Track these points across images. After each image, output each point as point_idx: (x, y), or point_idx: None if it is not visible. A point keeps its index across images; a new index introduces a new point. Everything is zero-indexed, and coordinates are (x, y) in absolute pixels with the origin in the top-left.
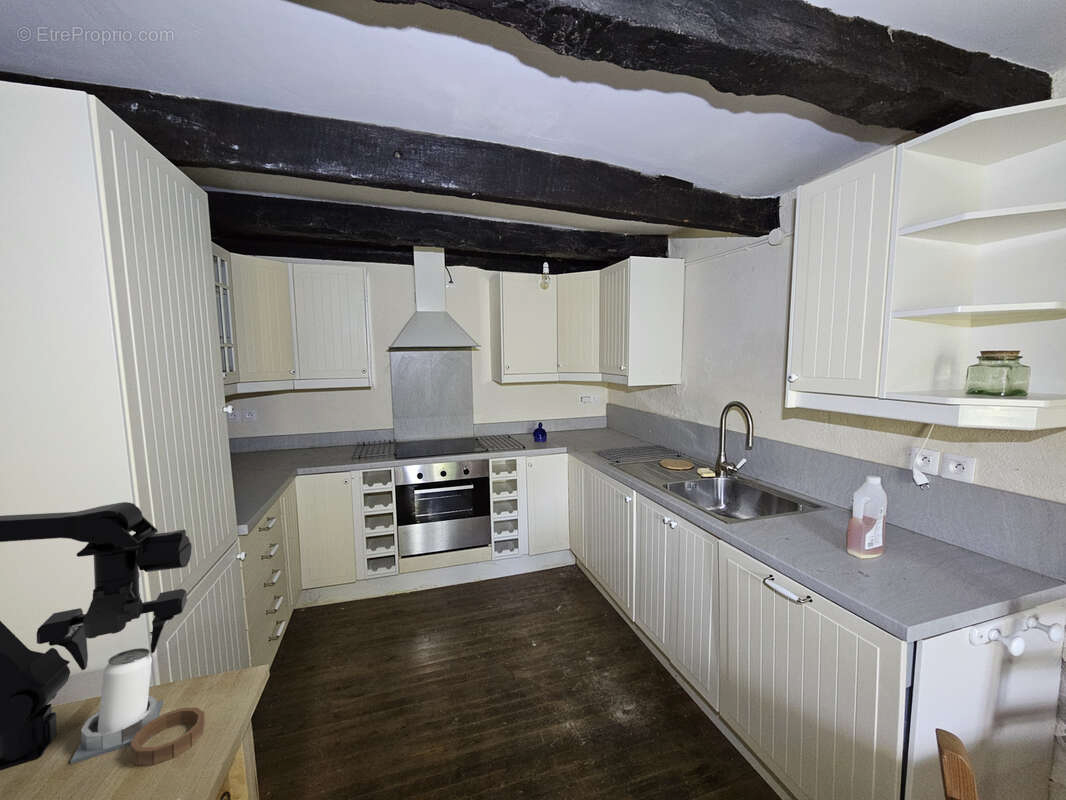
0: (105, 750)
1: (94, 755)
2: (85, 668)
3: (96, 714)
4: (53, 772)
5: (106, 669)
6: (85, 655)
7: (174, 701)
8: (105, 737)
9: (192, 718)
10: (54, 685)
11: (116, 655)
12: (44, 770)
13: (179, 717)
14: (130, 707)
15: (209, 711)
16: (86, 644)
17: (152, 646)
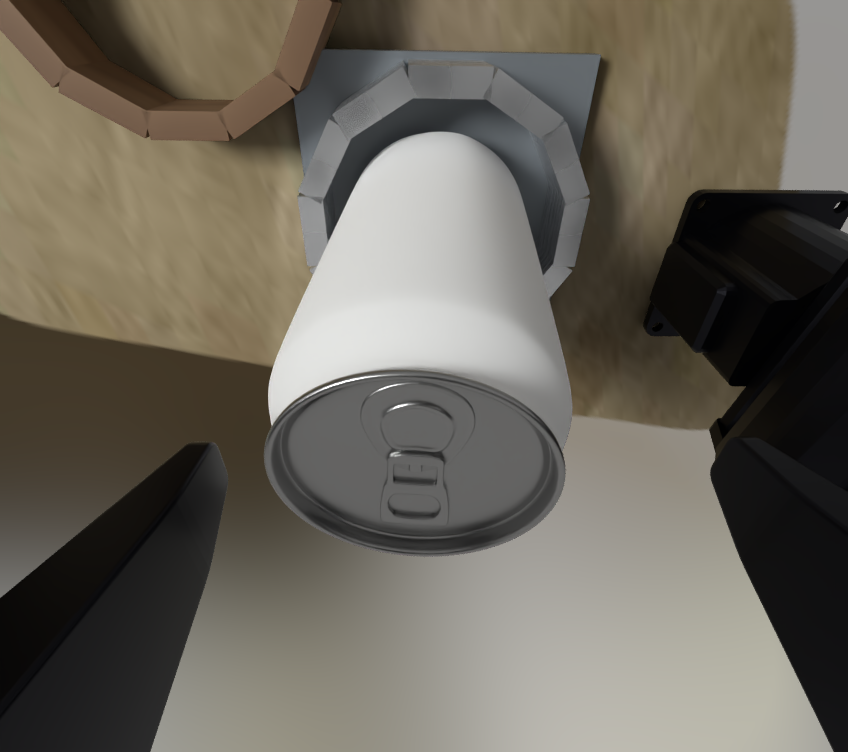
0: (470, 52)
1: (511, 52)
2: (726, 448)
3: None
4: (654, 30)
5: (561, 398)
6: (795, 575)
7: (283, 304)
8: (478, 65)
9: (97, 65)
10: (841, 403)
11: (513, 527)
12: (682, 77)
13: (169, 104)
14: (383, 178)
15: (70, 132)
16: (824, 714)
17: (155, 496)
